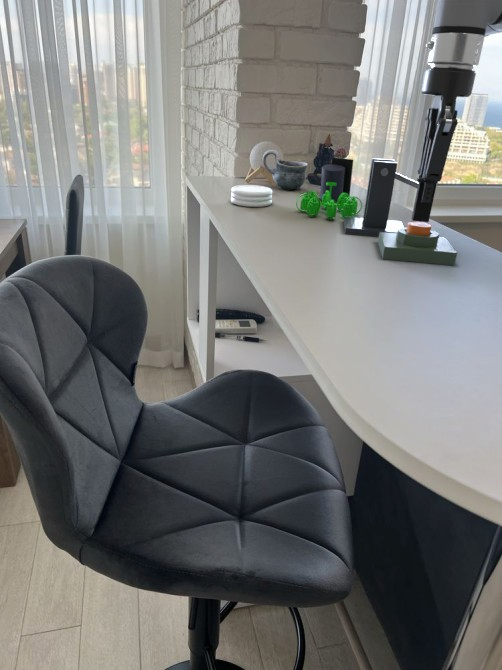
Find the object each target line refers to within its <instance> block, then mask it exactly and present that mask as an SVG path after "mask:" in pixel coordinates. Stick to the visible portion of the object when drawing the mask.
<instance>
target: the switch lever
mask: <svg viewBox="0 0 502 670" xmlns="http://www.w3.org/2000/svg"><path fill="white" fill-rule="evenodd" d="M395 180H397V181H399V182H401V183H404V184H405V185H408V186H411V187H412V188H415V189H417V188H418V183H419V182H417V180H416V181H415V180H414V179H411V178H410V177H409V178H408V177H407V176H404V175H403V174H400V173H397V172H396V175H395Z"/></svg>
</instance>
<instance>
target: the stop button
mask: <svg viewBox="0 0 502 670" xmlns="http://www.w3.org/2000/svg"><path fill="white" fill-rule="evenodd" d="M406 227H407V231H406V232H407V233H410V234H414V235H422V236H425V235H430V231H431V230H432V224H431V223H429V222H420V221H409V222H407V226H406Z"/></svg>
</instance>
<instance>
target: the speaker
mask: <svg viewBox="0 0 502 670" xmlns="http://www.w3.org/2000/svg"><path fill="white" fill-rule="evenodd" d="M353 167H354V159H351V158H342V157H341V158H340V157H332V159H331V164H324V165H322V166H321V178H320V192H319V193H320V194H319V199H320V200H322V197H323V194H325V192H326V191H329V193H330V186H328V185H326V183H327V182H334V183H337V184H336V186H332V190H331V200H334V202H335V203H337V201H338V198H339V196H340V195H341V194H342V193H347V194H349V197H351V189H352V188H351V186H352V178H353V169H354V168H353ZM346 197H347V195H346Z"/></svg>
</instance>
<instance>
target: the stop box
mask: <svg viewBox="0 0 502 670" xmlns="http://www.w3.org/2000/svg"><path fill="white" fill-rule="evenodd" d="M406 231H407V226H404V227H402V228H399V229H398V230H397V233H386V232H379V237H378V239H377V245H378V249H379V252H380V255H381V258H382V260H387V261H388V260H389V261H401V262H412V263H421V264H423V263H424V264H435V265H445V266H455V265H456V261H457V260H456V259H457V255H458V252H457V251H456V249H455V248H454V246H452V244H451V243H450V242H449V240H448V239H447V238H446V237H443V236H440V234H439V233H438V232H437V231H435V230H432V229H431V231H430V235H425V236H422V235H414V234H410V233H407V232H406Z"/></svg>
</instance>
